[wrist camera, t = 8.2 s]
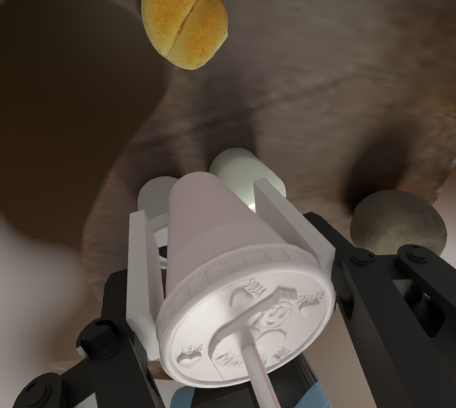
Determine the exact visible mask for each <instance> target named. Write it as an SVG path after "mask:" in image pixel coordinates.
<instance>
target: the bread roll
mask: <svg viewBox="0 0 456 408" xmlns="http://www.w3.org/2000/svg"><path fill="white" fill-rule="evenodd" d="M141 14H142V19H143V24H144V27H145V30H146V33H147V36H148V38H149V40H150V41H151V43H152V45H153V46H154V48H155V49H156V50H157V52H159V54H161V55H162V56H163V57H165V58H166V59H167V60H169V61H170V62H171V63H173V64H174V65H176V66H178V67H181V68H184V69H188V70H194V69H197V68H199V67H201V66H203V65H205V63H206V62H207V61H208V60H210V59H211V58H212V57H213V56H214V54H215V52H216V51H217V50H218V49H219V47H220V46H221V45H222V44H223V42H224V41H225V40H226V38H227V37H228V33H227V29H228V15H227V11H226V9H225V6H224V4H223V2H222V1H221V0H142V1H141Z"/></svg>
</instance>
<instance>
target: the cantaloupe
mask: <svg viewBox="0 0 456 408" xmlns="http://www.w3.org/2000/svg"><path fill="white" fill-rule="evenodd" d="M350 235H351V239H352V242H353V244H354V245H355V247H356V248H363V249H367V250H369V251H371V252H373V253H374V254H375V255H390V254H397V251H398V249H399V247H400V246H402V245H405V244H415V245H420V246H423V247H426V248H428V249H429V250H431V251H433V252H434V253H435V254H437V255H438V256H440V254H441V253H442V251H443V250H444V248H445V245H446V240H447V231H446V226H445V223H444V221H443V219H442V218H441V216H440V214H439V213H438V212H437V211H436V210H435V209H434V208H433V206H432V205H430V204H429V203H428V202H427V201H425V200H424V199H422V198H420V197H418V196H416V195H414V194H411V193H408V192H405V191H397V190H382V191H378V192H375V193H373V194H371V195H369V196H367V197H365V198H364V199H363V200H362V201H361V202H360V203H359V204H358V205H357V206H356V208H355V210H354V212H353V219H352V221H351V225H350Z"/></svg>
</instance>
